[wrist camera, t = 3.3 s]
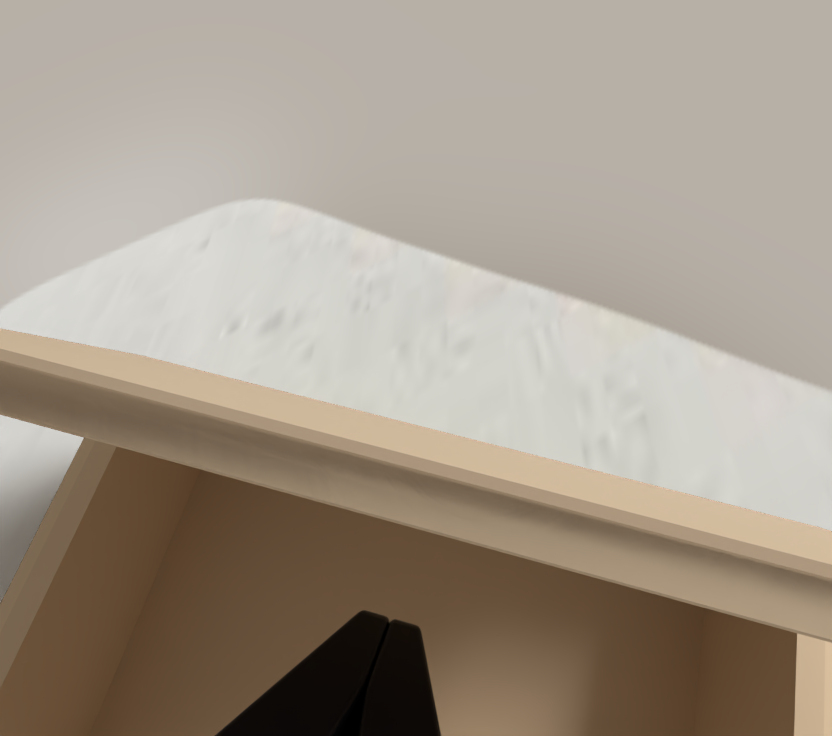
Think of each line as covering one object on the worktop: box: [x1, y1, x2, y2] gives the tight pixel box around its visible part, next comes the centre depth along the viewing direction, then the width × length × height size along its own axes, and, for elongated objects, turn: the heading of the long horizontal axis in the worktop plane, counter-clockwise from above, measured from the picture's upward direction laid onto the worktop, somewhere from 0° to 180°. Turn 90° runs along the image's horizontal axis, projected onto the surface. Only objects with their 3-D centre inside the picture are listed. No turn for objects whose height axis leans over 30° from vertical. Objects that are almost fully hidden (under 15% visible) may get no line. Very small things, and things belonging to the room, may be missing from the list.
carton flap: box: [0, 329, 832, 643], centre depth 10 cm, size 11×17×1 cm
